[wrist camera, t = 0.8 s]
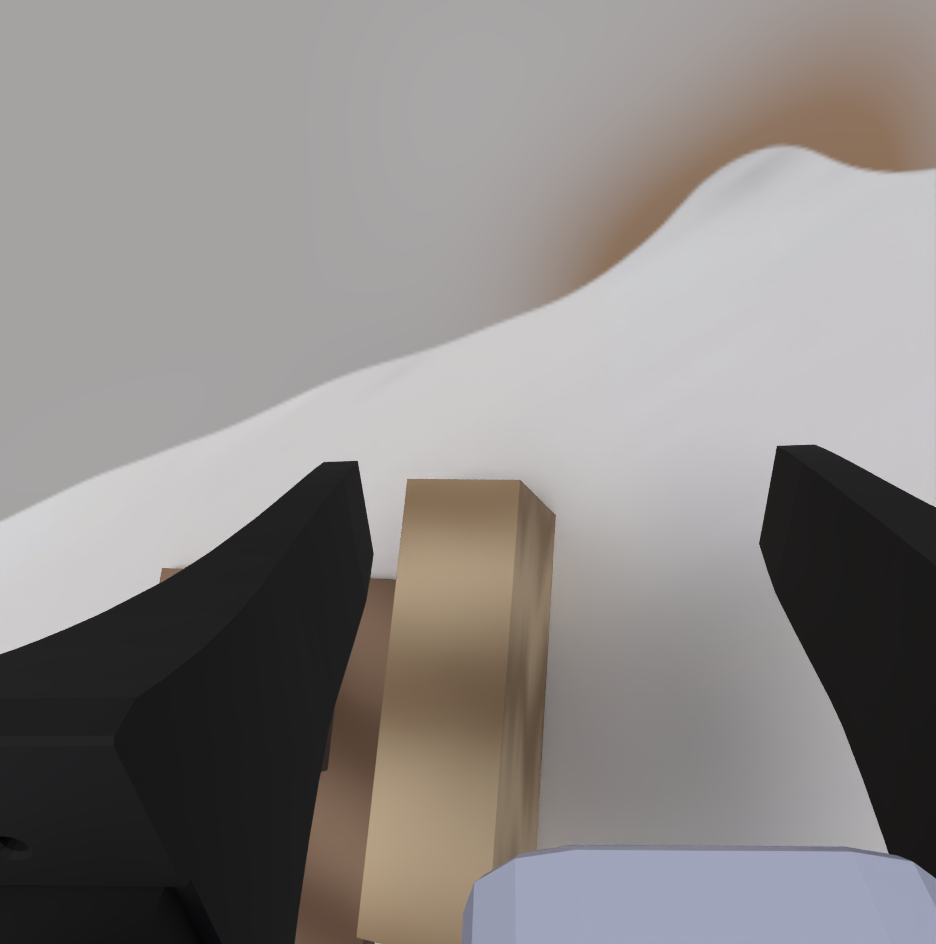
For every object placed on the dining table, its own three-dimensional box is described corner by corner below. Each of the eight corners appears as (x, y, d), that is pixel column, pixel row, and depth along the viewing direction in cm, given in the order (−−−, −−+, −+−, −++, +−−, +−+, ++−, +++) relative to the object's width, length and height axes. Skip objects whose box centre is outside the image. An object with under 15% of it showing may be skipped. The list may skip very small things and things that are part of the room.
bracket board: (339, 1301, 23) (270, 1419, 20) (67, 1184, 27) (-32, 1264, 24) (409, 582, 29) (366, 570, 26) (177, 570, 33) (111, 559, 29)
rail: (534, 902, 25) (485, 969, 19) (430, 880, 26) (356, 937, 21) (556, 516, 28) (520, 479, 23) (463, 513, 29) (407, 478, 24)
